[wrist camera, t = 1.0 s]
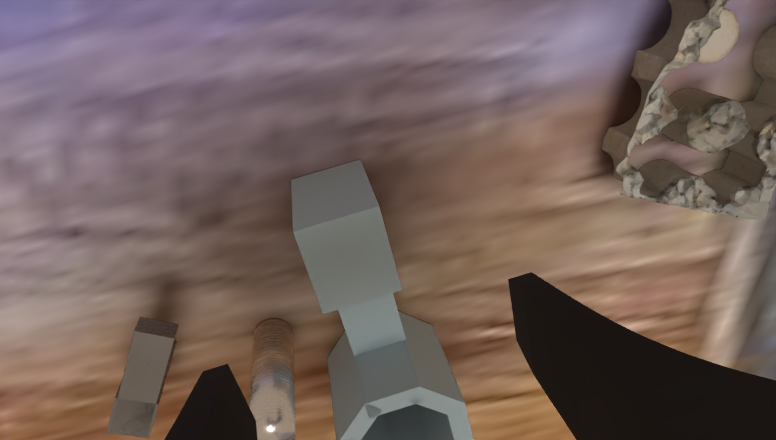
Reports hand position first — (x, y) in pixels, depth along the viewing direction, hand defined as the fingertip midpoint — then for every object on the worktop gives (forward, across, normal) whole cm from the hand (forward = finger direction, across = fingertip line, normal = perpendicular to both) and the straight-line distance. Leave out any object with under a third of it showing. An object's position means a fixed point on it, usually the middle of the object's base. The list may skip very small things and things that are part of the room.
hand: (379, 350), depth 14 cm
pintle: (+10, +5, +6) cm, 13 cm away
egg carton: (+11, -17, 0) cm, 20 cm away
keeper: (+11, +9, +4) cm, 15 cm away
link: (+11, 0, +6) cm, 12 cm away
